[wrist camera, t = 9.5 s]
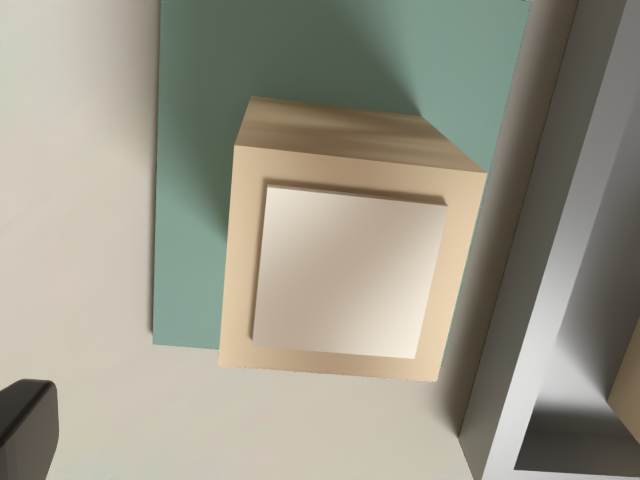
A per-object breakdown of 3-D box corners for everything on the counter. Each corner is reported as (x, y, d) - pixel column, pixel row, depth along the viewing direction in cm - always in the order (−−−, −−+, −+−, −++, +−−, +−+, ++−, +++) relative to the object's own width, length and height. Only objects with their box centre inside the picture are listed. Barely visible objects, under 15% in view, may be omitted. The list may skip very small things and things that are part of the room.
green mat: (526, 1, 16) (531, 2, 16) (438, 360, 21) (441, 366, 21) (164, -51, 15) (161, -52, 15) (155, 337, 20) (152, 344, 20)
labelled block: (422, 116, 17) (490, 176, 11) (392, 269, 19) (438, 386, 13) (251, 95, 17) (233, 147, 11) (238, 255, 18) (217, 371, 13)
